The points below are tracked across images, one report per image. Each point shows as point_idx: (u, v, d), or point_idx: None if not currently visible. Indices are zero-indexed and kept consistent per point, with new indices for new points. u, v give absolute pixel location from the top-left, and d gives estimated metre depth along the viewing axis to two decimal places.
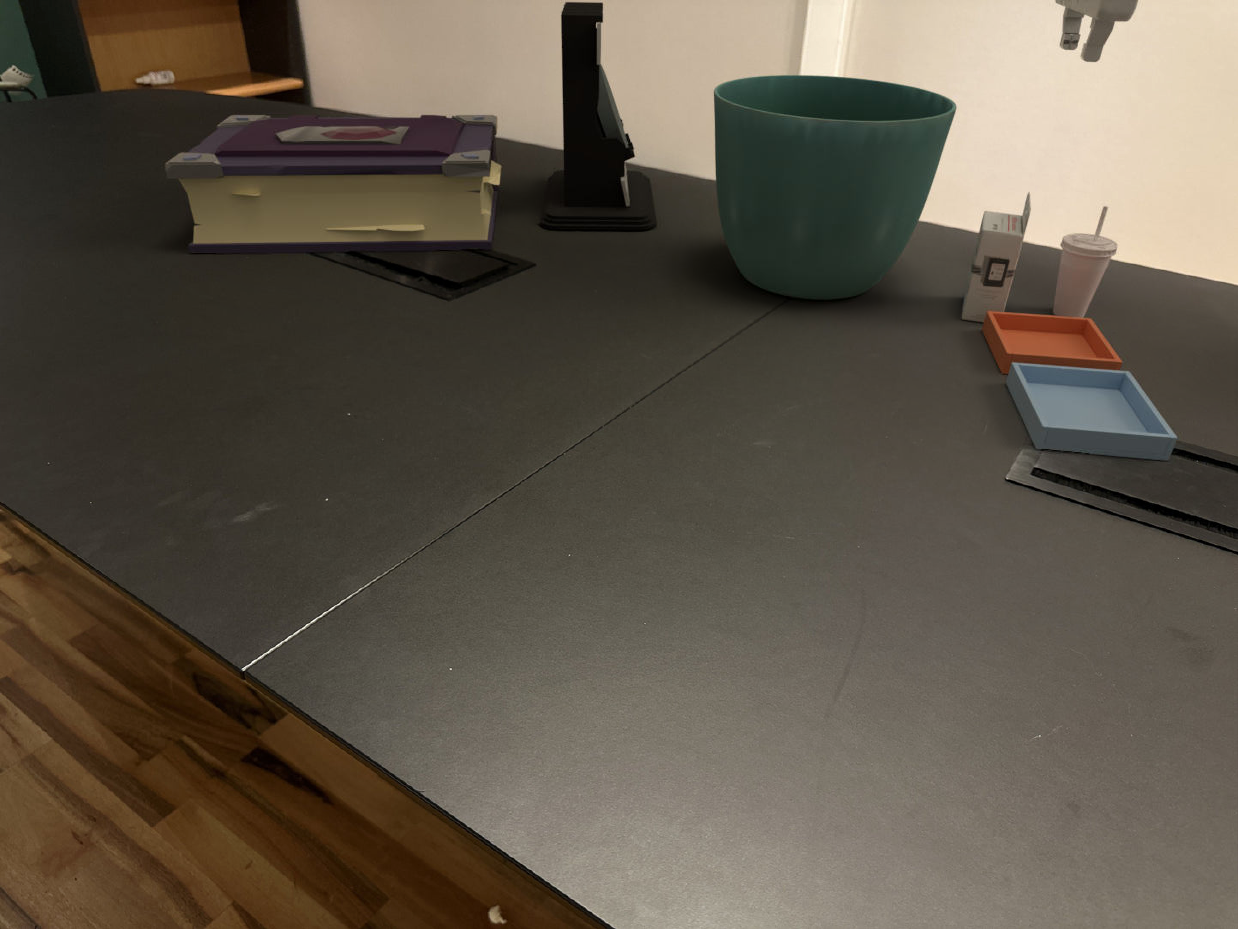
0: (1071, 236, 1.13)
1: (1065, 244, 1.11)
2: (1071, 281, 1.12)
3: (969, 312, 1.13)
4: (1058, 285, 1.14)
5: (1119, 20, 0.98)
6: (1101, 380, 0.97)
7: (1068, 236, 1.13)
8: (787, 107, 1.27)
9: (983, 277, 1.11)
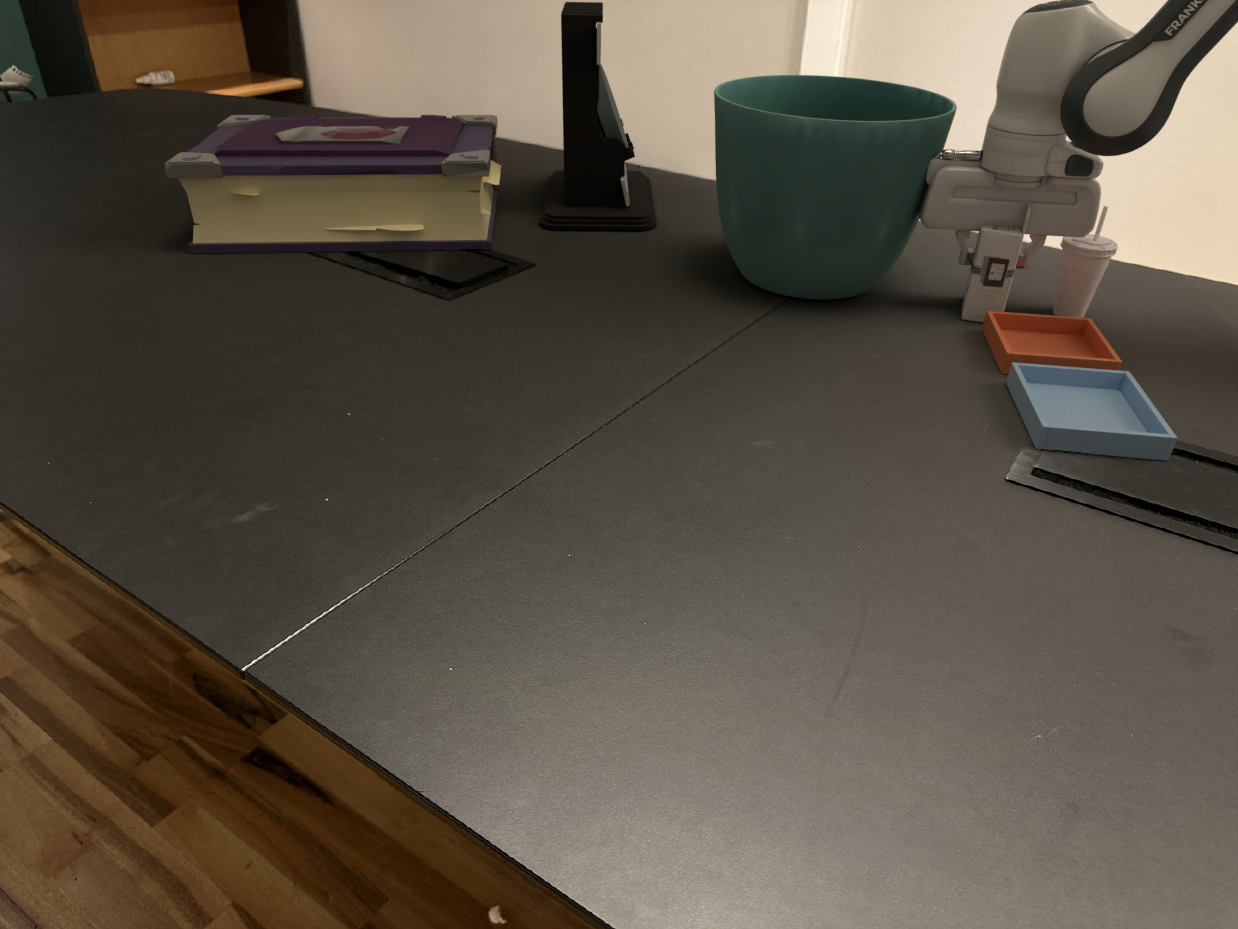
0: None
1: (1065, 244, 1.11)
2: (1071, 281, 1.12)
3: (969, 312, 1.13)
4: (1058, 285, 1.14)
5: None
6: (1101, 380, 0.97)
7: None
8: (787, 107, 1.27)
9: (983, 277, 1.11)
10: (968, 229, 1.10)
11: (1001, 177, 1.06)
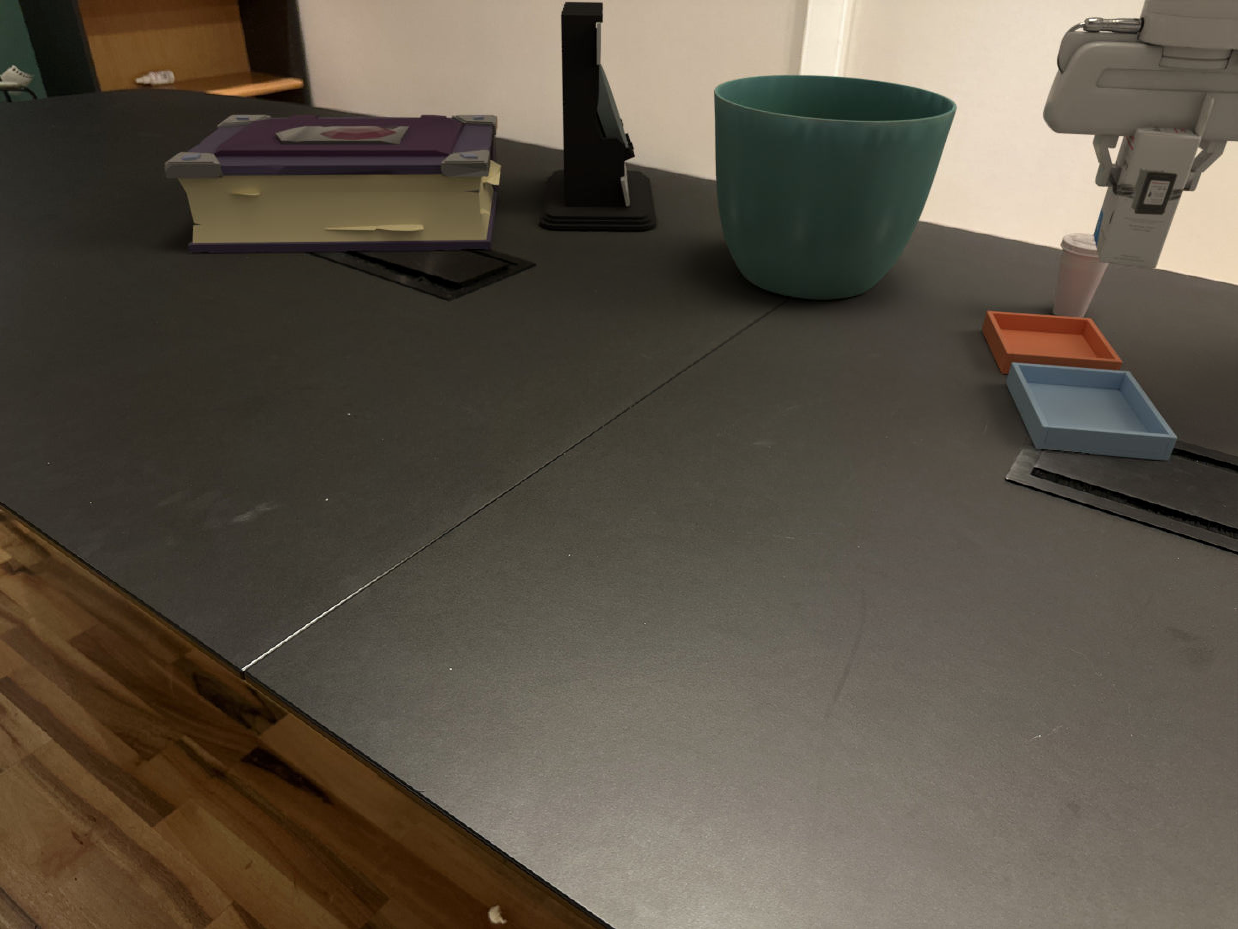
0: (1071, 236, 1.13)
1: (1065, 244, 1.11)
2: (1071, 281, 1.12)
3: (1112, 252, 0.82)
4: (1058, 285, 1.14)
5: (1052, 129, 0.81)
6: (1101, 380, 0.97)
7: (1068, 236, 1.13)
8: (787, 107, 1.27)
9: (1136, 200, 0.79)
10: (1116, 133, 0.79)
11: (1172, 54, 0.74)
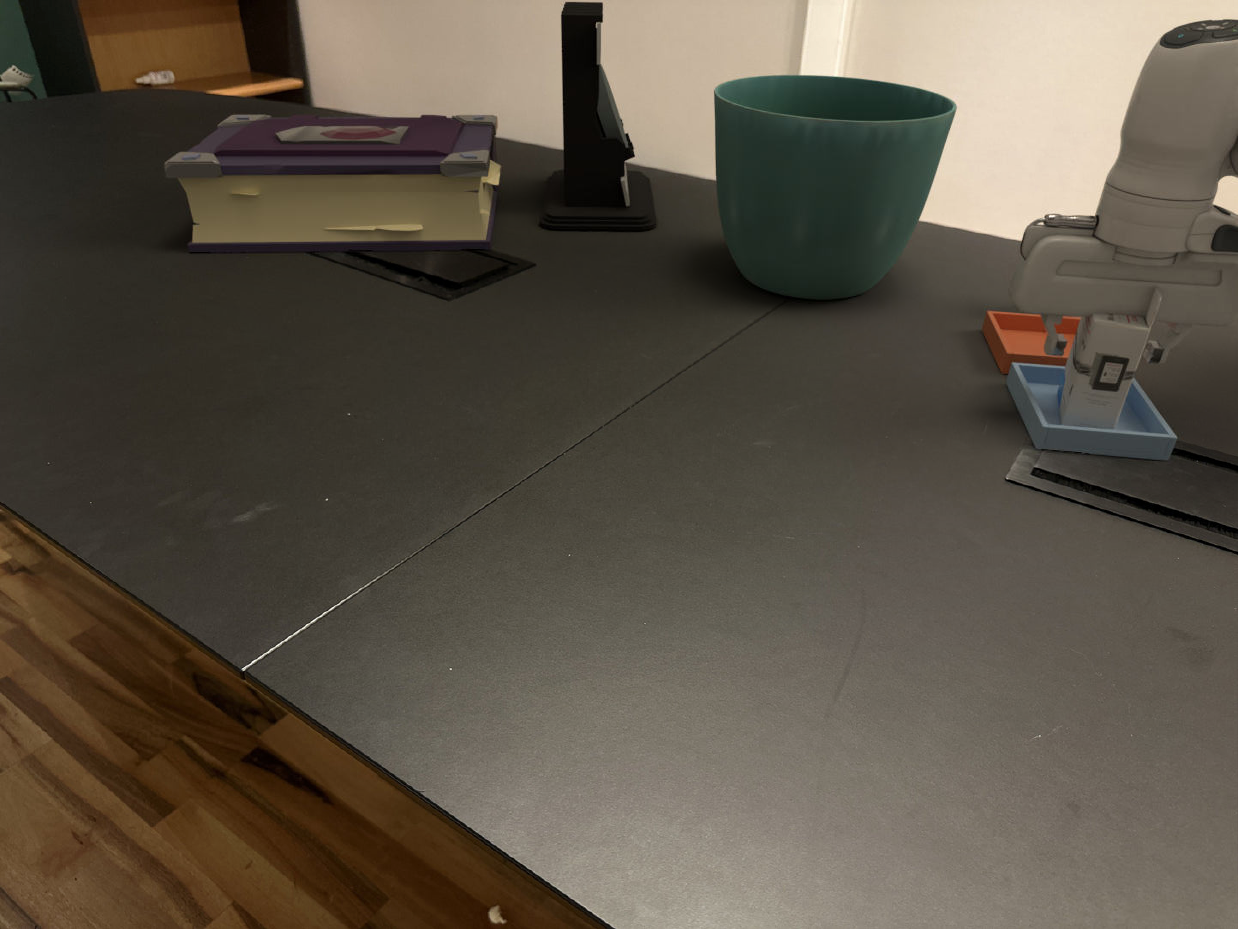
0: None
1: None
2: None
3: (1072, 420, 0.89)
4: None
5: None
6: None
7: None
8: (787, 107, 1.27)
9: (1092, 378, 0.86)
10: (1075, 314, 0.85)
11: (1124, 251, 0.81)
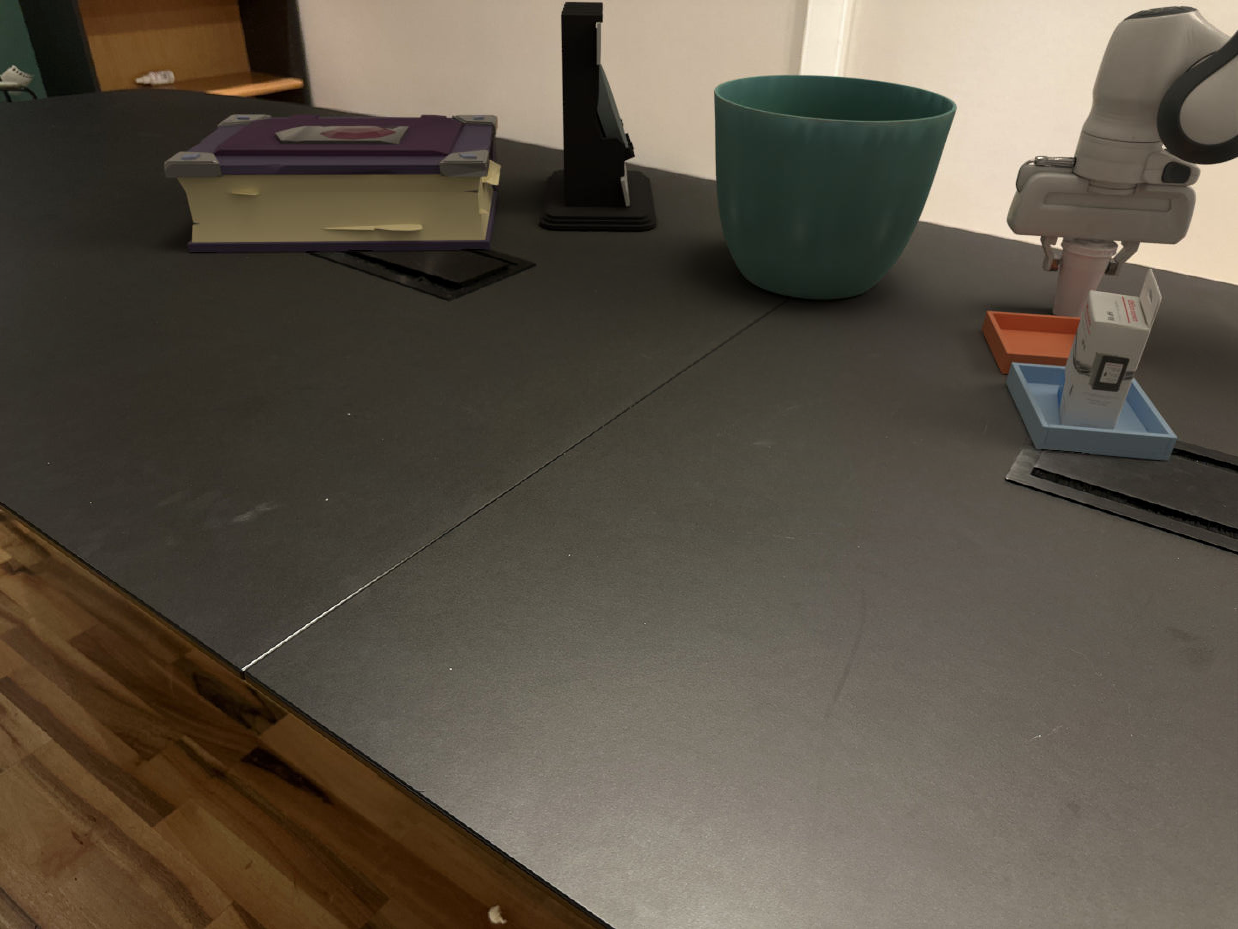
0: None
1: (1065, 244, 1.11)
2: (1071, 281, 1.12)
3: (1072, 420, 0.89)
4: (1058, 285, 1.14)
5: None
6: None
7: None
8: (787, 107, 1.27)
9: (1092, 378, 0.86)
10: (1058, 236, 1.10)
11: (1095, 184, 1.05)
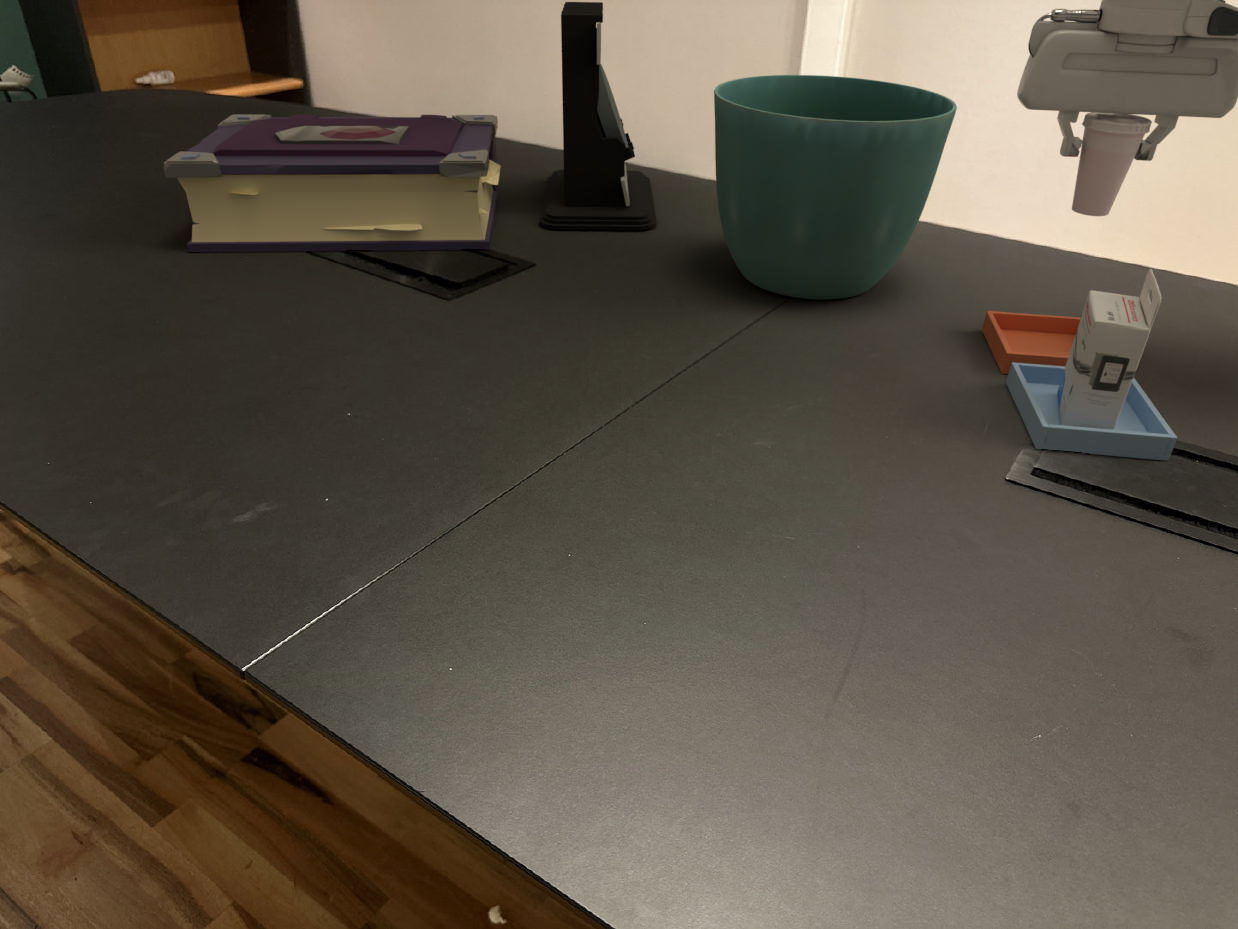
0: (1095, 114, 0.94)
1: (1088, 121, 0.93)
2: (1095, 167, 0.94)
3: (1072, 420, 0.89)
4: (1079, 174, 0.96)
5: (1024, 106, 0.93)
6: None
7: (1091, 114, 0.94)
8: (787, 107, 1.27)
9: (1093, 378, 0.86)
10: (1080, 109, 0.91)
11: (1126, 40, 0.87)
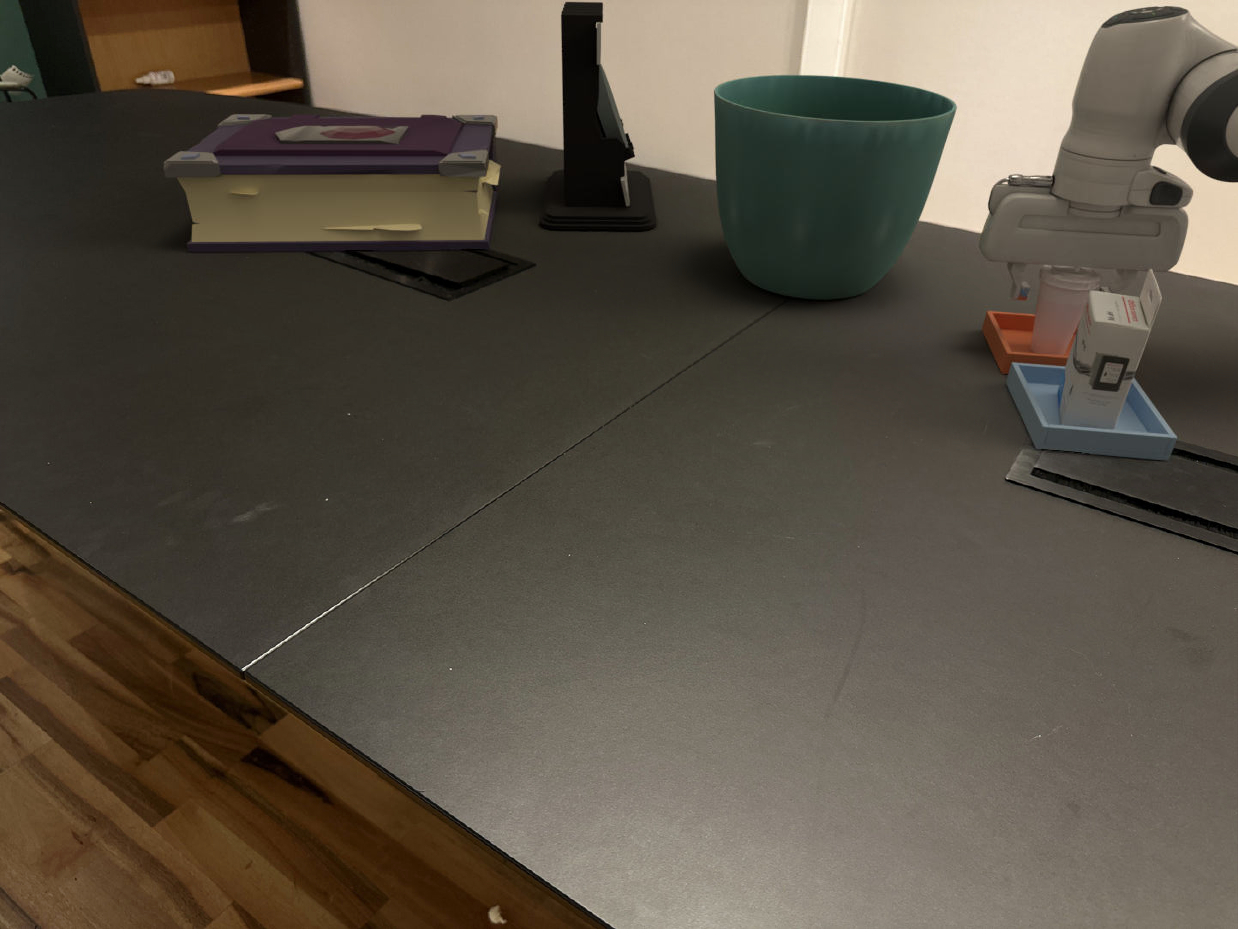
0: (1050, 265, 1.02)
1: (1043, 275, 1.00)
2: (1050, 316, 1.01)
3: (1072, 420, 0.89)
4: (1036, 319, 1.03)
5: None
6: None
7: (1047, 265, 1.02)
8: (787, 107, 1.27)
9: (1093, 378, 0.86)
10: (1036, 262, 0.99)
11: (1076, 206, 0.94)
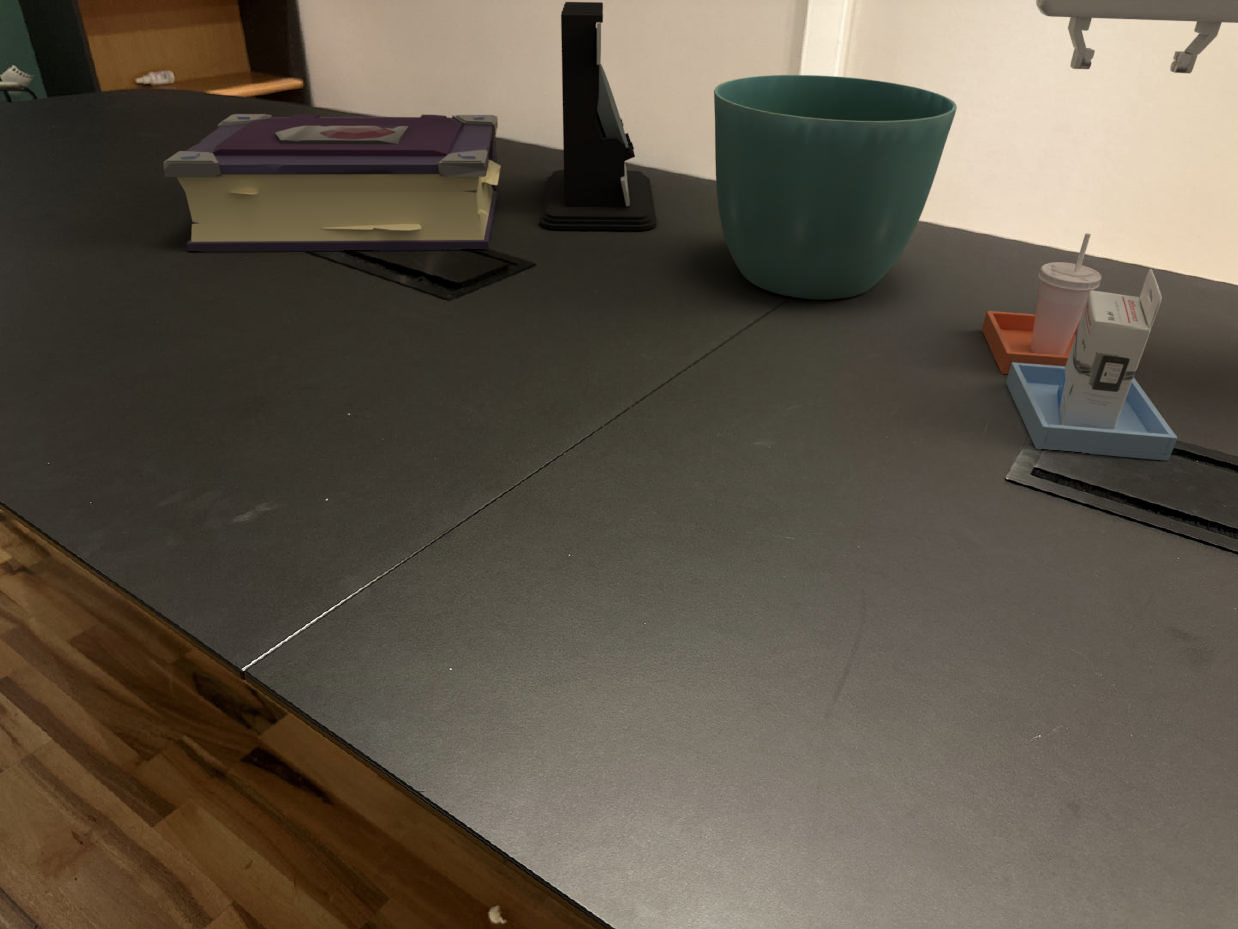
0: (1050, 265, 1.02)
1: (1043, 275, 1.00)
2: (1050, 316, 1.01)
3: (1072, 420, 0.89)
4: (1036, 319, 1.03)
5: (1044, 14, 0.87)
6: None
7: (1047, 265, 1.02)
8: (787, 107, 1.27)
9: (1093, 378, 0.86)
10: (1103, 15, 0.85)
11: None
